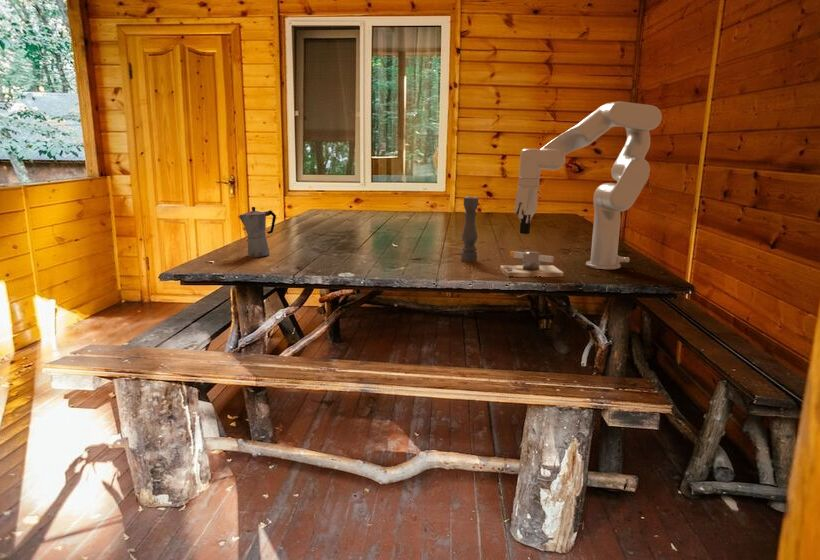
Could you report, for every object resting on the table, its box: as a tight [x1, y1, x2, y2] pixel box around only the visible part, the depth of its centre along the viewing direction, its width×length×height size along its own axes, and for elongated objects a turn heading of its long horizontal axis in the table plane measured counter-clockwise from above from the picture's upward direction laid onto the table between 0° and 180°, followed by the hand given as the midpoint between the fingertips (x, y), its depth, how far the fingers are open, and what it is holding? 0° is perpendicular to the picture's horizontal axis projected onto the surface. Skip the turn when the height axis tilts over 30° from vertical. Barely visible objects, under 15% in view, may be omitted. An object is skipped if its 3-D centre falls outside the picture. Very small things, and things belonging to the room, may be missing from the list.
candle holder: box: [460, 196, 479, 263], centre depth 222 cm, size 6×6×25 cm
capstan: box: [509, 250, 555, 270], centre depth 203 cm, size 16×6×6 cm, turn 53°
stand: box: [499, 264, 564, 278], centre depth 204 cm, size 20×12×2 cm, turn 93°
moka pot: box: [238, 206, 277, 258], centre depth 229 cm, size 10×15×20 cm, turn 127°
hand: (524, 233), depth 209 cm, fingers closed
